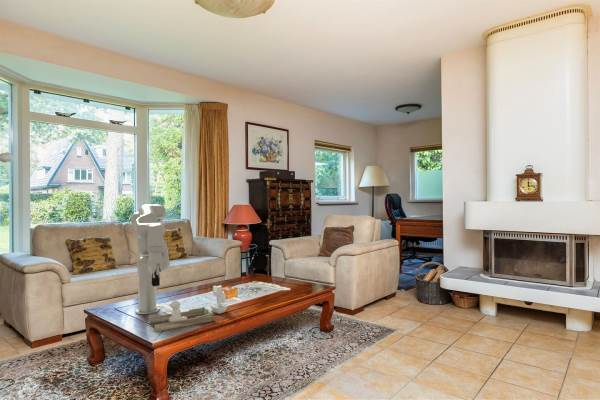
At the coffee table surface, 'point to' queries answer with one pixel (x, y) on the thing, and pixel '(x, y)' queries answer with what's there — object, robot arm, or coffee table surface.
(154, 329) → the mats
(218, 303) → the figurine
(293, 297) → the coffee table surface
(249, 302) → the coffee table surface
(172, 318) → the sitting furry creature
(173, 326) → the lane
